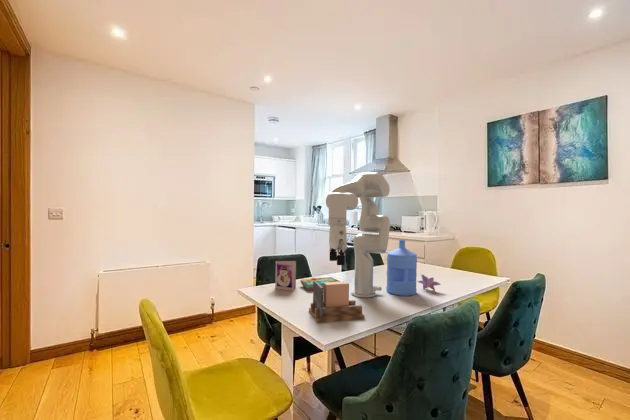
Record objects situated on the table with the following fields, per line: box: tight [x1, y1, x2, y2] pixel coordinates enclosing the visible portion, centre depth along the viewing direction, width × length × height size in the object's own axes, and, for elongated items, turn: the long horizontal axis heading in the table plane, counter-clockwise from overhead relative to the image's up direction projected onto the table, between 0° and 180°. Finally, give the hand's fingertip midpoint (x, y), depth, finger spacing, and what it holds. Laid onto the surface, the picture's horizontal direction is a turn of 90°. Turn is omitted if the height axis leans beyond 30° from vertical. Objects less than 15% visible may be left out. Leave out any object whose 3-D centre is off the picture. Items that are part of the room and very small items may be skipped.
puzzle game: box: [299, 277, 342, 291], centre depth 177 cm, size 12×5×20 cm
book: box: [323, 280, 350, 308], centre depth 132 cm, size 10×4×12 cm, turn 105°
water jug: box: [385, 239, 418, 297], centre depth 168 cm, size 16×16×28 cm
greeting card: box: [274, 260, 297, 292], centre depth 173 cm, size 11×7×15 cm, turn 68°
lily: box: [417, 274, 442, 291], centre depth 171 cm, size 11×11×9 cm
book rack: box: [308, 281, 366, 324], centre depth 131 cm, size 20×14×14 cm
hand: (336, 262), depth 131 cm, fingers open, 9 cm apart
